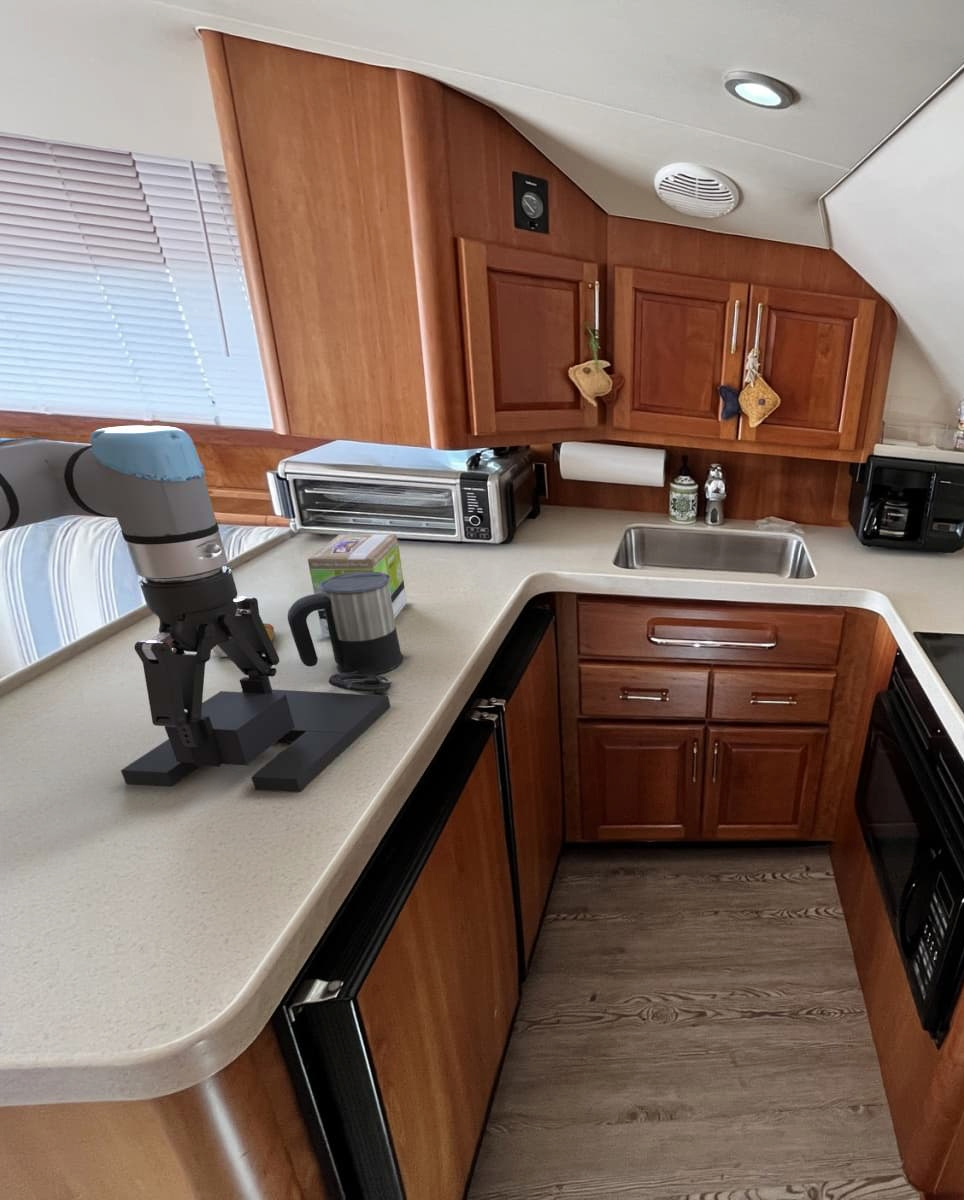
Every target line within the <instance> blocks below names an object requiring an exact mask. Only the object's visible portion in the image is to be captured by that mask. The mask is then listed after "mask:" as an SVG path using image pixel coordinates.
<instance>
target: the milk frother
mask: <svg viewBox="0 0 964 1200" xmlns="http://www.w3.org/2000/svg"><path fill="white" fill-rule="evenodd" d="M390 578H391V577H390V576H389V575H387V574H384V573H380V572H353V573H345V574H340V575H336V576H333V577H330V578H328V579H325V580H324V581H322V582H321V583H320V588H321V589H322V590H324V592H323V593H318V594H314V593H313V594H308V595H305V596H303V597H300V598H298V599H297V600H296V601H294V603H292V605H291V606H290V607H289V609H288V612H287V622H288V625H289V629H290V632H291V635H292V637H293V641H294V644H295V648H296V650H297V652H298V655H299V658H300V661H301V663H302V664H303V665H304V666H305V667H314V666H316V665H317V664H318V662H319V659H318V654H317V651H316V648H315V644H314V642H313V639H312V635H311V632H310V628H309V626H308V622H307V620H308V619H307V618H308V617H309V615H311V614H312V613H313V612H315V611H318V610H321V609H325V615H326V620H327V625H328V630H329V635H330V636H329V640H330V644H331V648H332V653H333V658H334V662H335V664H337V665H336V670H337V672H338V673H335V674H332V675H331V676H330V677H329V678H328V683H329V684H330V685H331V686H334V687H336V688H338V689H342V690H346V691H350V692H357V693H358V692H359V693H373V695H378V693H381V692H382V693H383V692H385V691H388V690H389V689H391V686H392V681H391V679H389V678H386V677H385V676H381V675H379V674H384V673H387V672H389V671H392V670H393V669H396V668H397V667H399V666H400V665H401V664H402V663H403V662H404V659H405V658H404V655H403V653H402V650H401V647H400V642H399V638H398V632H397V631H398V630H397V626H396V618H395V619H394V613H393V607H392V601H391V594H390V588H389V581H390ZM349 680H350V682H347V681H349Z"/></svg>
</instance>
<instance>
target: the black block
mask: <svg viewBox="0 0 964 1200" xmlns="http://www.w3.org/2000/svg"><path fill="white" fill-rule="evenodd" d="M201 716H209V717H210V720H211V723H212V727H213V731H214V734H215V737H216V740H217V743H218V746H219V749H220V752H221V755H222V758H223V761H224V763H223V764H222V765H233V766H235V765H236V766H248V765H250V763H252V762H253V761H255V759H257V758H259V756H261V755H262V754H263V753H264V752H265V751H267V750H268V749H269V748H271V747H272V746H273V745H274V744H276V743H277V742H278V740H279V739H280V738H282V737H283V736H284V735H286V734H287V733H288V732H289V731H291V730H292V729H293V728H294V723H293V719H292V716H291V712H290V708H289V705H288V701H287V697H286V695H283V694H265V693H246V692H242V691H223V690H221V691H219V692H218V693H215V694H213V695H212V696H210V697H209V698H207V699H206V700H204V701H202V711H201ZM164 730H165V732H166V735H167V738H168V739H169V741H170V743H171V746H172V749H173V752H174V754H175V757H176V760H177V762H190V763H194V760H193V758H192V755H191V752H190V749H189V747H186V746H184V745H183V743H182V739H181V736H180V735H179V732H178V729H177V727H173V726H164Z"/></svg>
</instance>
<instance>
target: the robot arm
mask: <svg viewBox="0 0 964 1200" xmlns="http://www.w3.org/2000/svg"><path fill="white" fill-rule="evenodd" d="M89 440H90V441H89V442H90V443H87V442H86V443H84V442H73V441H62V440H61V441H60V440H51V439H42V438H41V437H29V436H25V437H21V438H2V437H1V438H0V532H4V531H9V530H13V529H17V528H21V527H25V526H29V525H33V524H37V523H42V522H46V521H50V520H54V519H58V518H62V517H68V516H69V517H70V516H87V517H102V518H116V520H117V522H118V525H119V527H120V530H121V534H122V537H123V540H124V542H125V544H126V548H127V551H128V554H129V558H130V560H131V563H132V566H133V569H134V572H135V574H136V575H137V576H139V577H141V579H140V580H139V581H138V582H139V586H140V589H141V593H142V595H143V597H144V600H145V603H146V606H147V608H148V610H150V611H151V612H152V613H153V614H155V616H156V617H158V619H159V628H158V634H157V635H156V636H154V637H152V638H151V639H150V640H138V641H137V642H135V644H134V647H133V648H134V651H135V653H136V654H137V655H138V657H139V659H140V660H141V662H142V668H143V673H144V679H145V684H146V685H145V687H146V691H147V697H148V703H149V710H150V715H151V722H152V724H153V726H155V727H165V726H173V727H177V729H178V732H179V735H180V736H181V739H182V743H183V745H184V746H186V747H189V749H190V752H191V755H192V758H193V760H194V763H195V765H200V766H204V767H220V766H221V765H224V764H223V763H224V761H223V758H222V755H221V752H220V749H219V746H218V743H217V740H216V737H215V734H214V731H213V727H212V723H211V720H210V717H209V716H201V711H202V703H203V698H204V697H203V696H204V683H205V674H206V673H205V672H206V663H207V662H209V661H210V660H211V653H212V651H213V648H214V647H215V646H216V645H218V646H219V647H220V648H221V649H222V650H223V651H224V653H225V654H226V655H227V656H228V657H227V658H229V660H230V661H231V662H232V663H233V664H234V665H236V667H237V669H239V670H240V671H241V673H242V674H243V675H245V676H243V677H242V678H240V679H239V684H240V688H241V690H242V691H243V692H246V693H265V694H272V689H273V688H272V684H271V681H270V678H271V677H275V676H276V675H277V668H276V667H273V666H277V665H278V664H279V663H280V657H279V654H278V653H277V650H276V648H275V647H274V646H275V645H274V643H273V640H272V641H271V639H270V637H269V635H268V633H267V630H266V628H265V626H264V624H263V623H264V621H263V619H262V617H261V616H260V610H259V609H260V608H259V601H258V599H257V598H256V597H251V596H250V597H249V596H248V597H247V596H238V590H237V585H236V582H235V578H234V575H233V572H232V569H231V568H230V567H228V566H227V563H228V562H229V561H228V557H227V553H226V550H225V546H224V543H223V540H222V536H221V532H220V530H219V529H220V527H219V524H218V521H217V519H216V514H215V511H214V508H213V504H212V503H213V502H212V500H211V497H210V492H209V488H208V484H207V479H206V475H205V473H206V471H205V467H204V464H203V463H202V462H201V460H200V457H199V454H198V452H197V448H196V447H195V444H194V441H193V439H192V437H191V436H190V435H189V434H188V432H186V431H185V430H183V429H180V428H178V427H174V426H167V425H118V426H110V427H103V428H100V429H96V430H94V431H92V433H91V434H90V436H89ZM185 652H188V653H185ZM189 652H190V653H189ZM246 676H247V677H246ZM200 766H199V767H200Z"/></svg>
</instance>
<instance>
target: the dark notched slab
mask: <svg viewBox="0 0 964 1200" xmlns="http://www.w3.org/2000/svg"><path fill="white" fill-rule="evenodd" d="M241 692H243V690H242V691H241ZM272 694H283V695H286V697H287V701H288V705H289V708H290V712H291V716H292V719H293V723H294V728H293V729H292V730H291V731H289V732H288V733H287V734H286V735H284V736H283V737H282V738H280V739H279V740H278V741H277V742H279V743H281V742H282V743H290V744H289V745H288V746H286V748H284V749H283V750H282V751H281V752H279V753H278V754H277V755H276V756H274V757H273V758H272V759H271V760H270V761H268V762H267V763H266V764H265V765H264V766H262V767H260V769H259V770H258V771H256V772H255V773H254V774H253V775H251V776H250V777H251V781H252V784H253V788H254V790H255V791H263V792H266V791H267V792H284V793H285V792H287V793H288V792H289V793H301V792H303V790H305V789H306V788H307V787H308V786H309V785H310V784H311V783H312V782H313V781H314V780H315V779H316V778H318V776H319V775H320V774H321V773H322V772H323V771H325V769H327V768H328V767H329V766H330V765H331V764H332V763H333V762H334V761H335V760H336V759H337V758H338V757H339V756H340V755H342V754H343V753H344V752H345V751H346V750H347V749H348V748H349V747H350V746H351V745H352V744H353V743H354V742H355V741H356V740H357V739H359V738H360V736H362V735H363V734H364V733H365V732H366V731H367V730H368V729H369V728H370V727H371V726H372V725H373V724H375V722H376V721H378V720H379V719H380V718H381V717H382V716H383V715H384V714H385V713H386V712H387V711H388V710H389V709H390V708H391V701H390V697H389V695H381V694H380V695H379V694H361V693H344V692H343V693H342V692H325V691H308V690H307V691H306V690H291V689H289V690H286V689H273V688H272ZM199 767H200V765H195V763H190V762H177V760H176V757H175V754H174V752H173V749H172V746H171V743H170V741H169V738H168V739H166V740H165V741H163V742H162V743H160V744H159V745H157V746H156V747H154V748H153V749H151V750H150V751H148V752H147V753H145V754H143V755H142V756H140V757H138V758H137V759H136V760H134V761H133V762H131V763H129V764H128V765H127V766H125V767H124V768H122V769H120V772H121V775H122V778H123V780H124V783H125V784H126V785H139V786H140V785H141V786H161V787H173V786H174V785H176V784H177V783H178V782H180V781H181V780H183V779H184V778H185V777H187V776H188V775H189V774H191V773H192V772H193V771H195V770H196V769H198V768H199Z"/></svg>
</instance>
